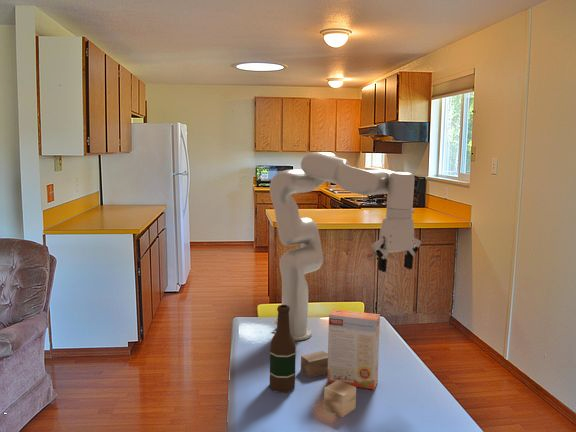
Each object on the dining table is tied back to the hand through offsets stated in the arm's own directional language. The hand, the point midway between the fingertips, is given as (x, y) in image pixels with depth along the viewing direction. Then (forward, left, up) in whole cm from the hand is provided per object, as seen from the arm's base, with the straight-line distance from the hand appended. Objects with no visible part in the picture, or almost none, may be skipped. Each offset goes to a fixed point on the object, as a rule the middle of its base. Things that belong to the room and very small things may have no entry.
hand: (395, 269), depth 151 cm
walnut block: (-16, -17, -32) cm, 40 cm away
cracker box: (-4, -16, -32) cm, 36 cm away
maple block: (+2, -30, -32) cm, 44 cm away
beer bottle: (-17, -32, -32) cm, 48 cm away
